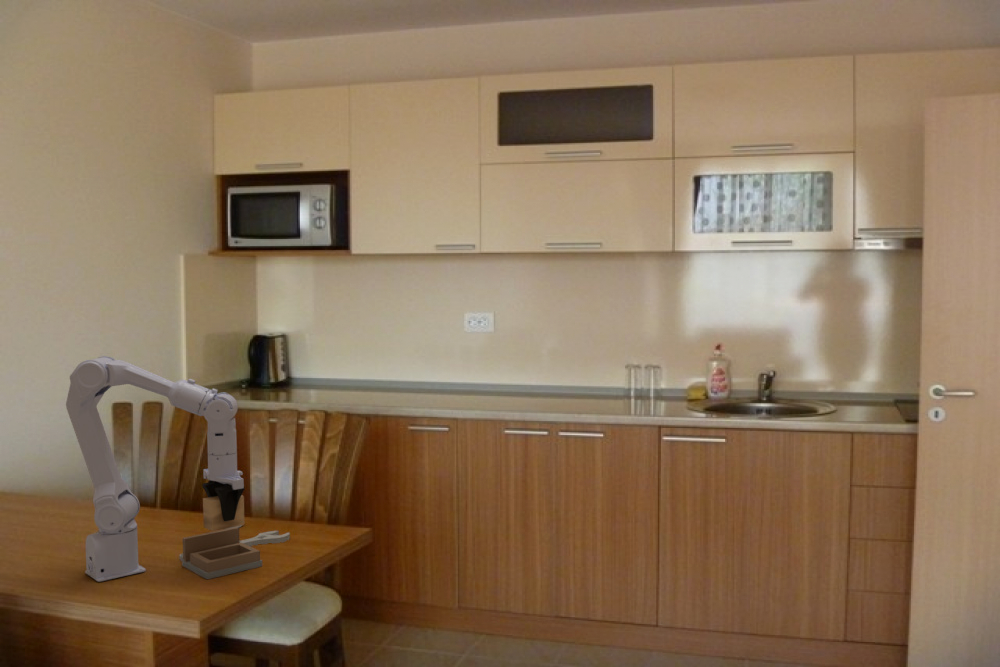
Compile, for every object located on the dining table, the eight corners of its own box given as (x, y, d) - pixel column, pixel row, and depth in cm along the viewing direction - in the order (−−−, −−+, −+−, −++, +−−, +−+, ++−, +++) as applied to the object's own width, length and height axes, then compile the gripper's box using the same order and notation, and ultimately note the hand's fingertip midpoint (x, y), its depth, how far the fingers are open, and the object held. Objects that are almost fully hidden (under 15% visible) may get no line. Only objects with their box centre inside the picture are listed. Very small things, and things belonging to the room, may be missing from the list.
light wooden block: (212, 531, 179) (211, 501, 179) (203, 527, 182) (202, 498, 181) (244, 524, 184) (243, 496, 183) (235, 520, 187) (234, 492, 186)
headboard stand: (206, 579, 176) (206, 549, 176) (182, 565, 185) (181, 537, 184) (262, 566, 184) (261, 537, 184) (236, 553, 193) (235, 526, 192)
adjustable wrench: (182, 564, 187) (181, 556, 187) (172, 557, 192) (172, 549, 192) (292, 541, 203) (292, 534, 202) (281, 535, 208) (280, 528, 207)
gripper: (256, 455, 179) (258, 521, 180) (225, 445, 190) (226, 508, 191) (223, 459, 174) (225, 527, 175) (193, 450, 185) (194, 514, 186)
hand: (224, 518), depth 183 cm, fingers closed on light wooden block, 4 cm apart
